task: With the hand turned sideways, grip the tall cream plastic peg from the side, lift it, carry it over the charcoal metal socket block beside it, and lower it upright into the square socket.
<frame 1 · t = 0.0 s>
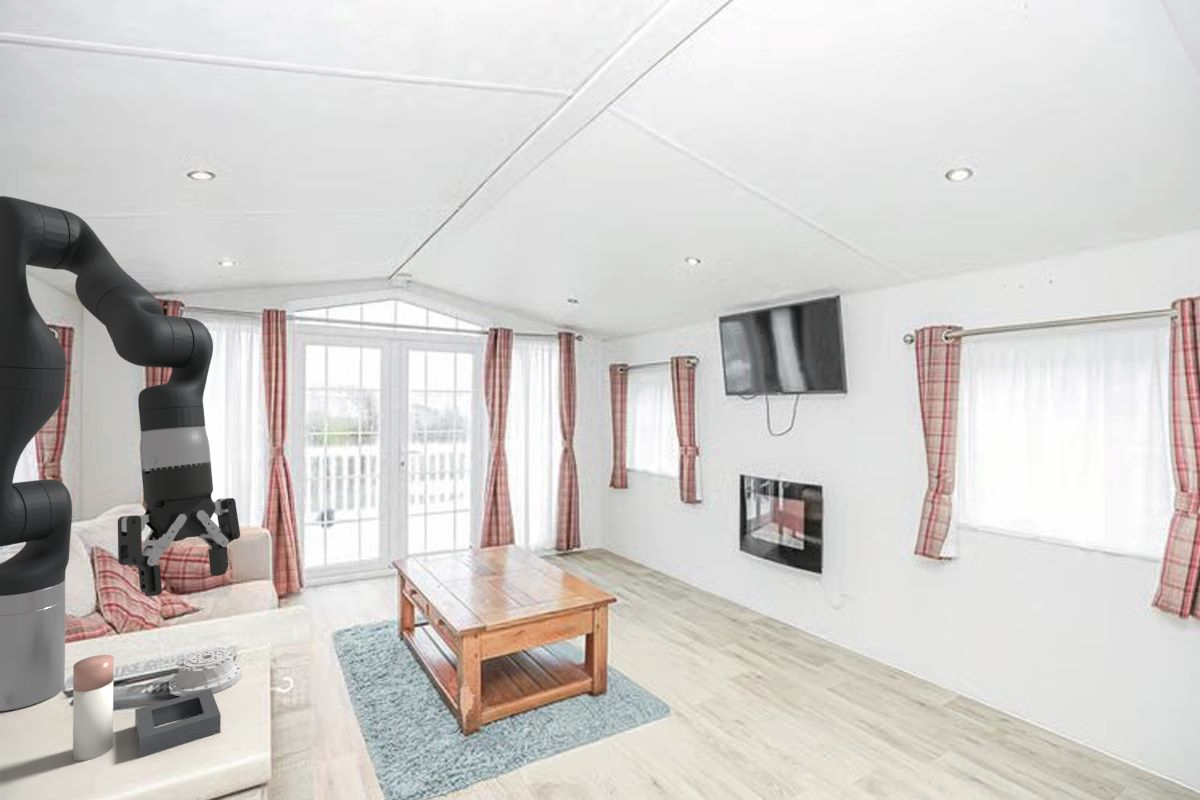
hand: (187, 584, 77), 22 cm above the table, tool pointing down, fingers open, 8 cm apart
mechanical component: (206, 684, 95), on the table
socket: (177, 729, 82), on the table
peg: (93, 751, 77), on the table
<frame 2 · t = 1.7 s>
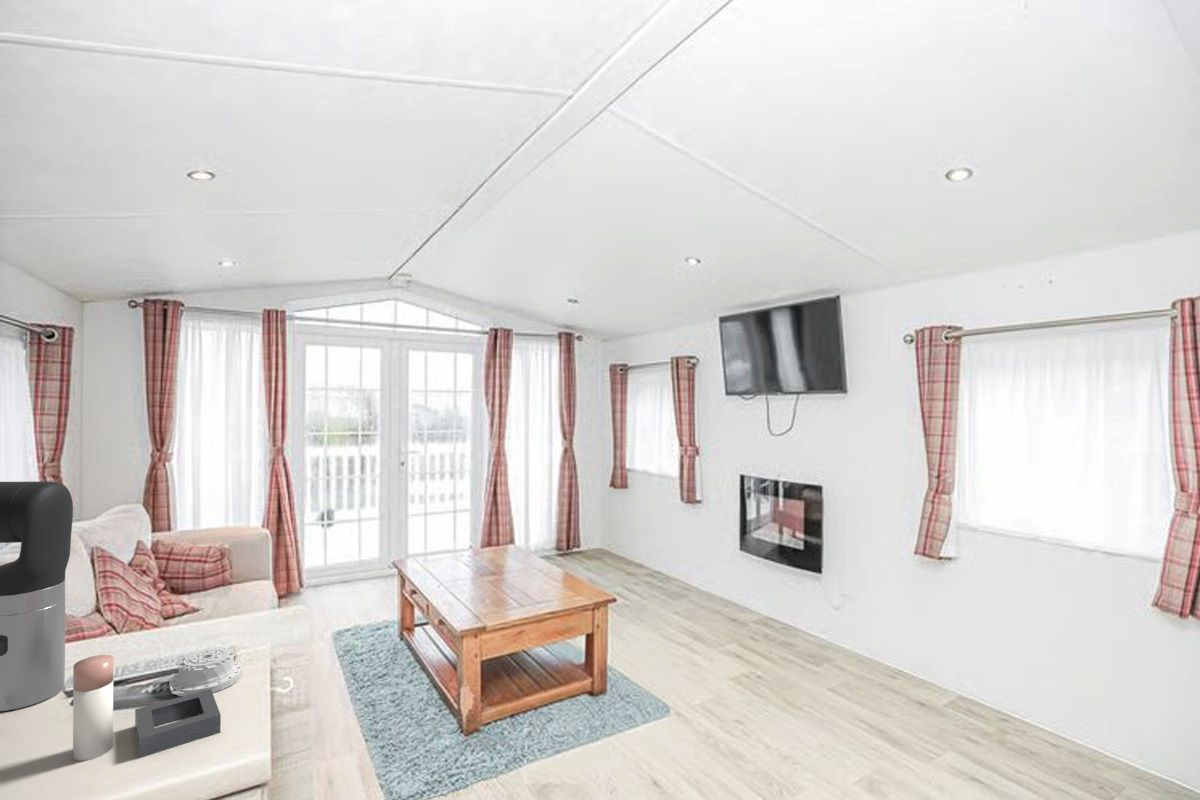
nothing on the table moved.
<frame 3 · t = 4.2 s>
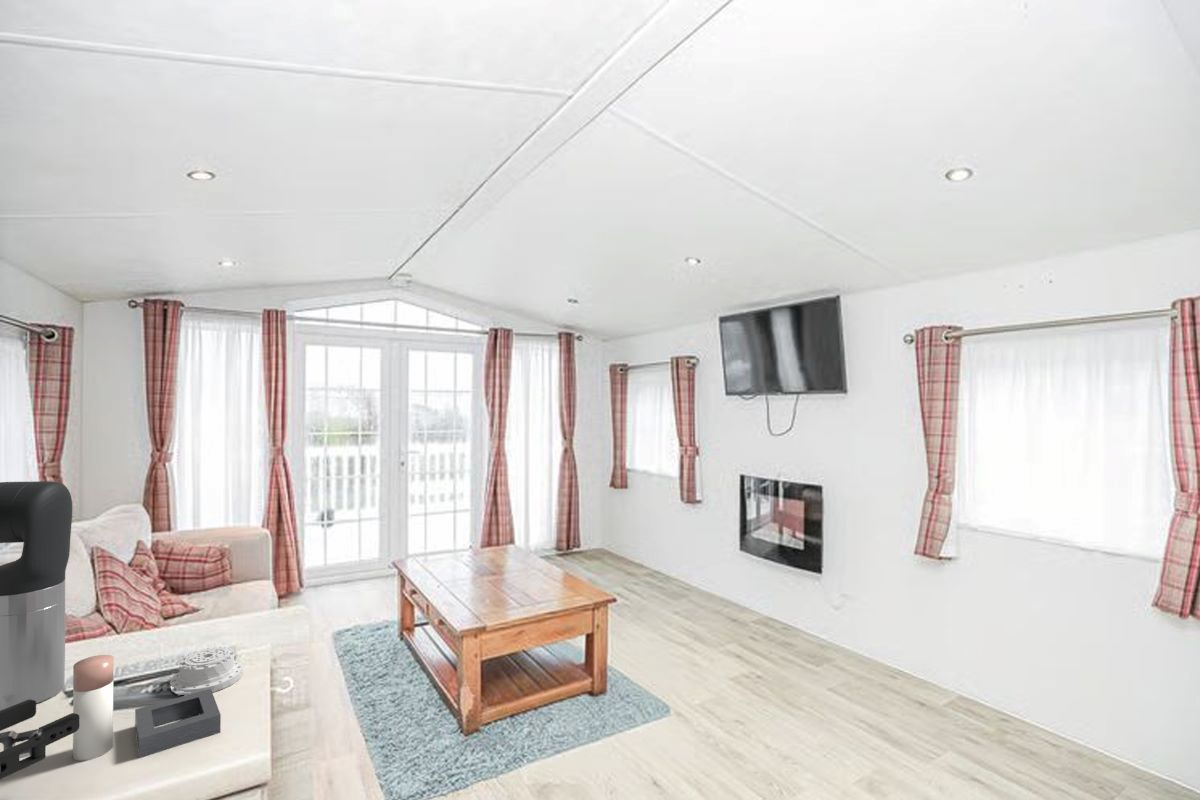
hand: (55, 713, 73), 7 cm above the table, tool horizontal, fingers open, 8 cm apart
nothing on the table moved.
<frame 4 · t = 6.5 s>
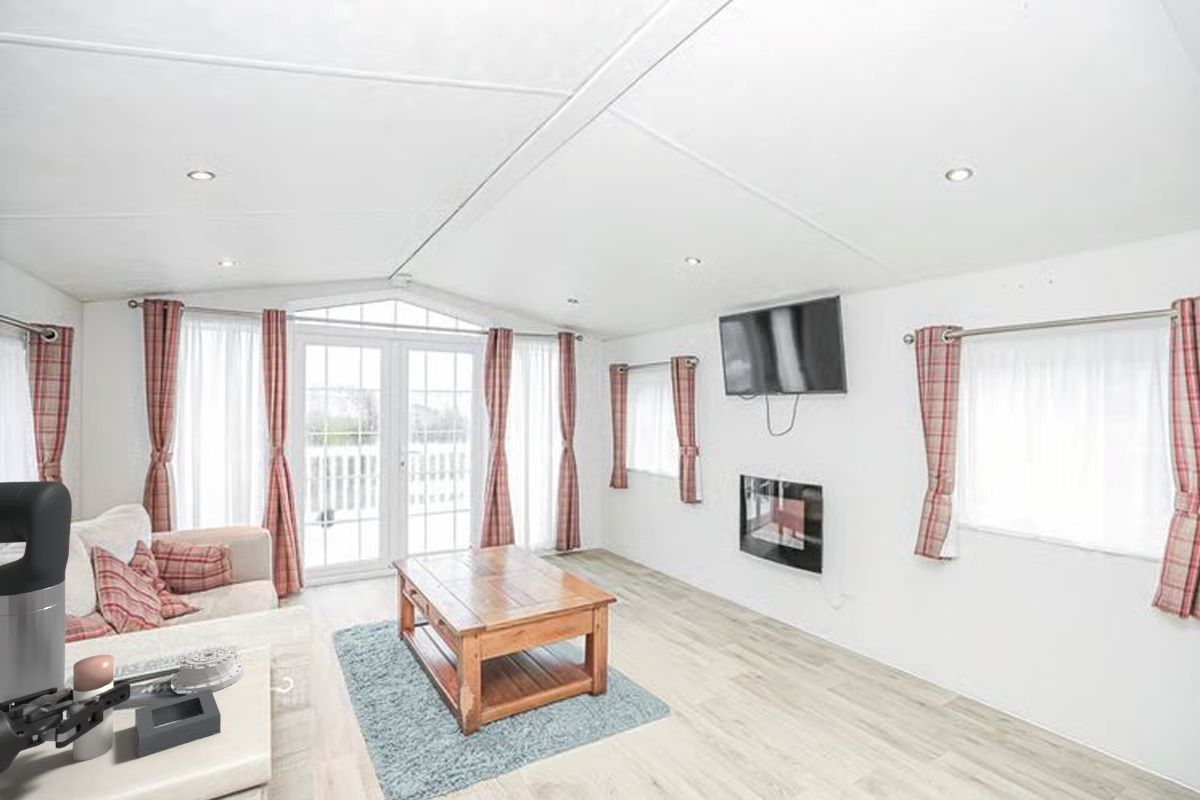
hand: (116, 687, 80), 7 cm above the table, tool horizontal, fingers closed on peg, 4 cm apart
peg: (93, 750, 77), on the table, touching gripper
everything else where it was.
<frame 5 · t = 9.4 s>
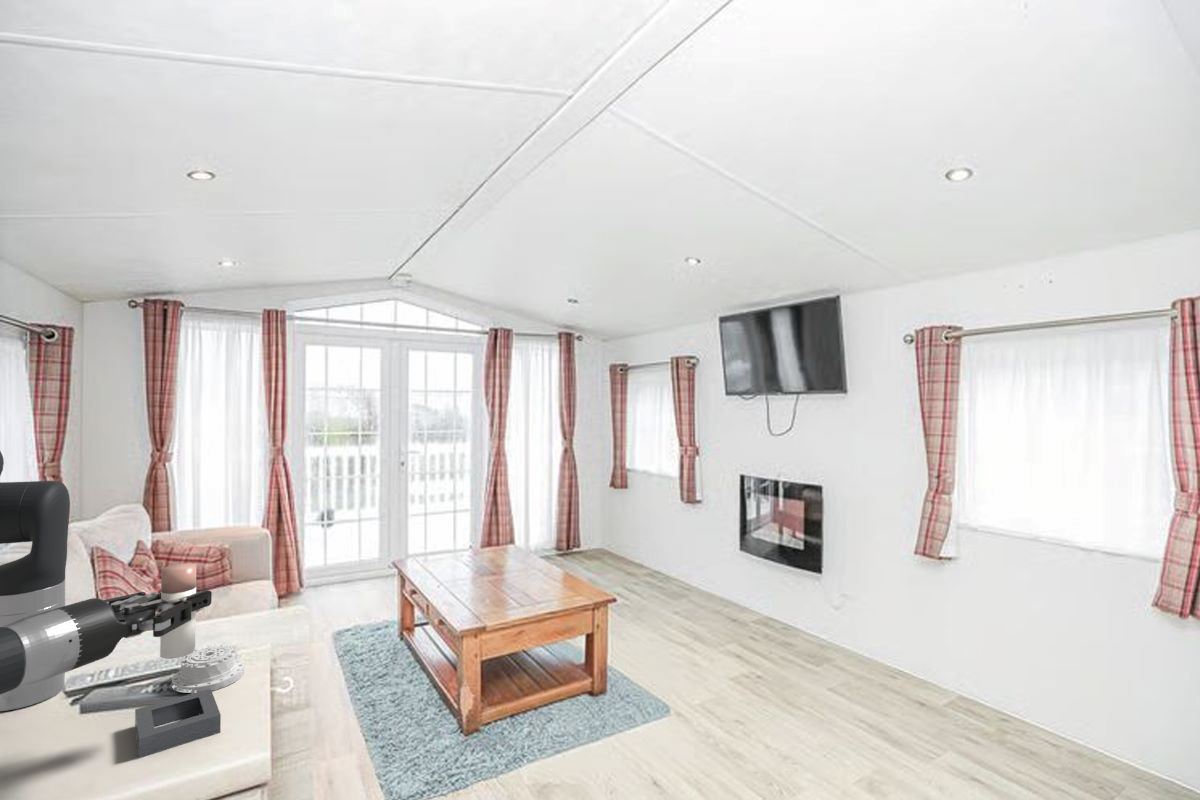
hand: (197, 595, 84), 18 cm above the table, tool horizontal, fingers closed on peg, 4 cm apart
peg: (177, 652, 82), point 11 cm above the table, touching gripper
when the fingers open (9 cm above the table, at t = 12.2 s): peg drops 1 cm, resting in socket.
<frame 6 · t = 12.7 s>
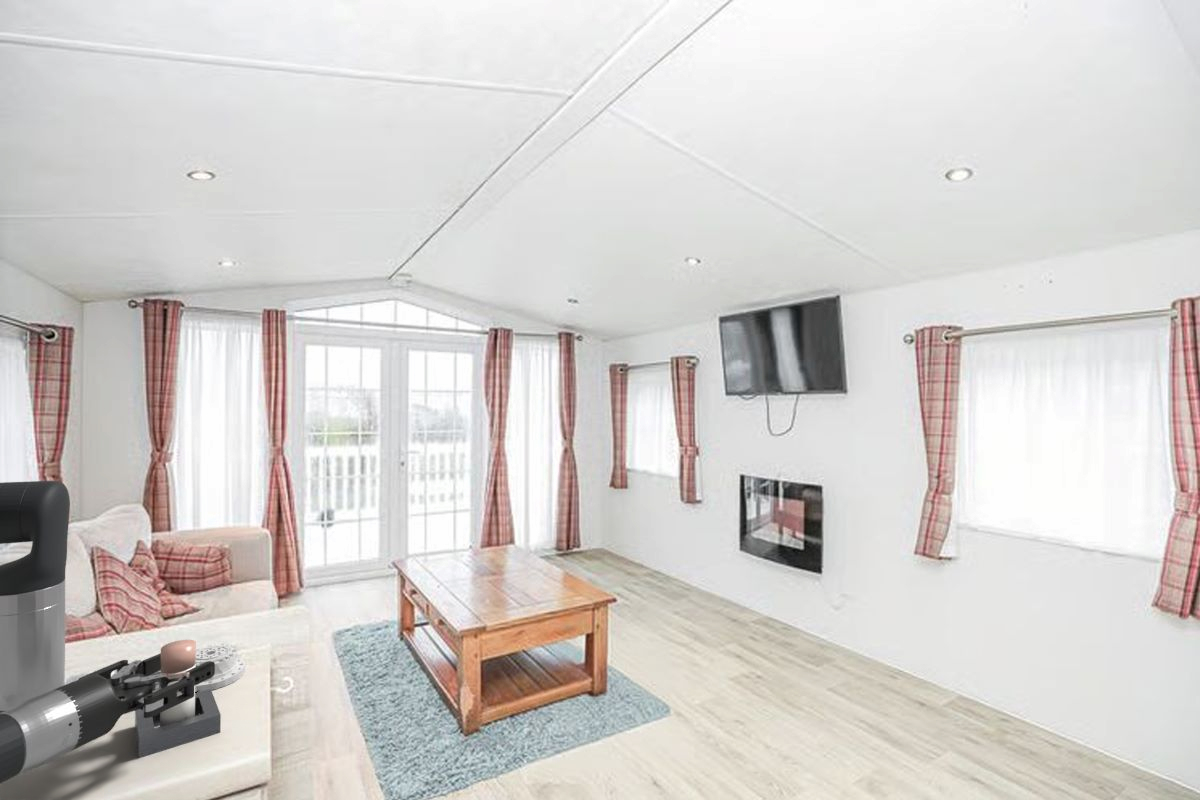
hand: (191, 662, 84), 9 cm above the table, tool horizontal, fingers open, 8 cm apart
peg: (177, 729, 82), resting in socket
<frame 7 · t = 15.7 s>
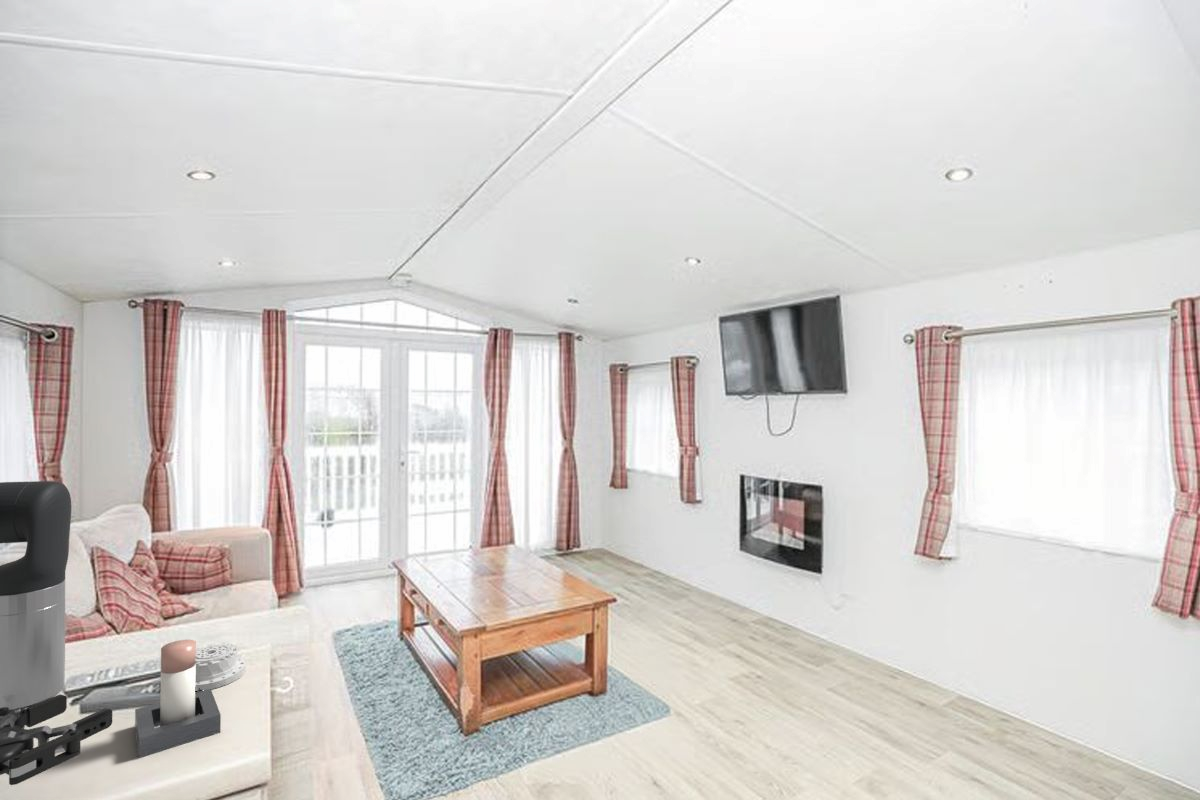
hand: (87, 708, 72), 9 cm above the table, tool horizontal, fingers open, 8 cm apart
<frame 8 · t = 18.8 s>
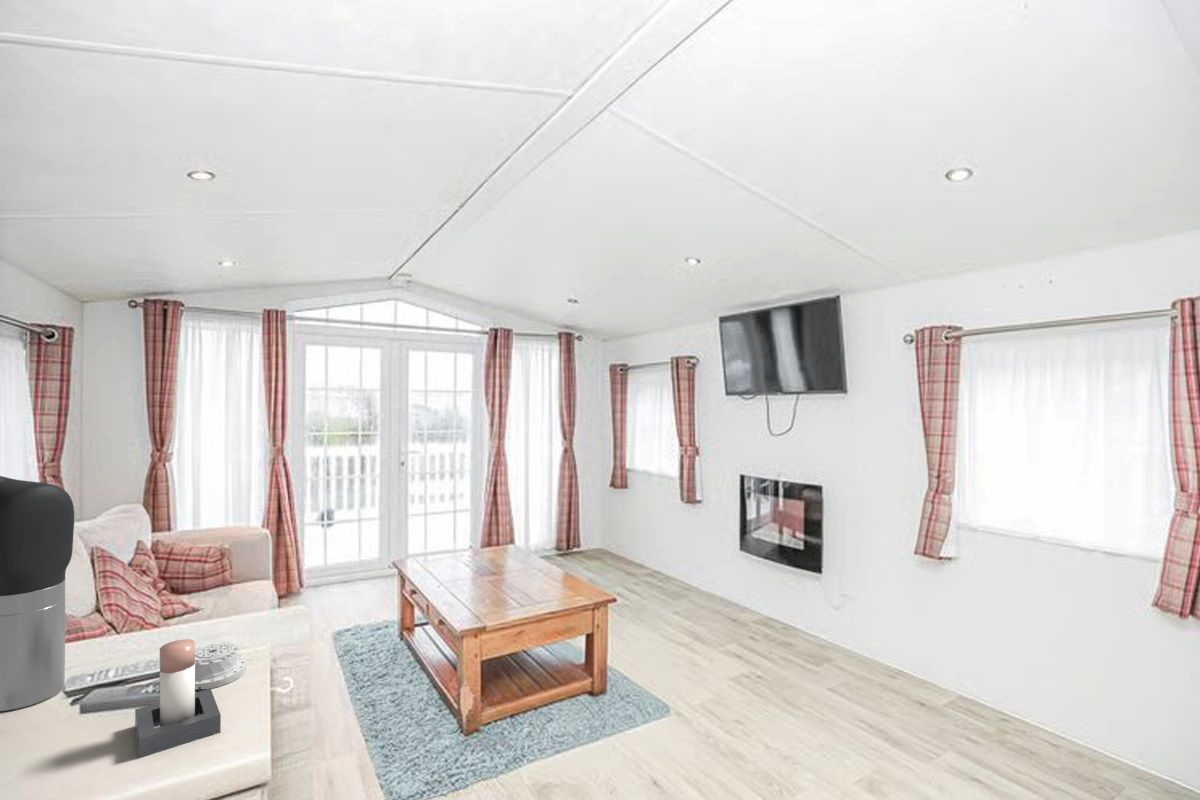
at the end: peg 0.2 cm off-centre on the socket, point 0.0 cm above the socket's base; peg tilted 1°; the gripper is holding nothing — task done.
